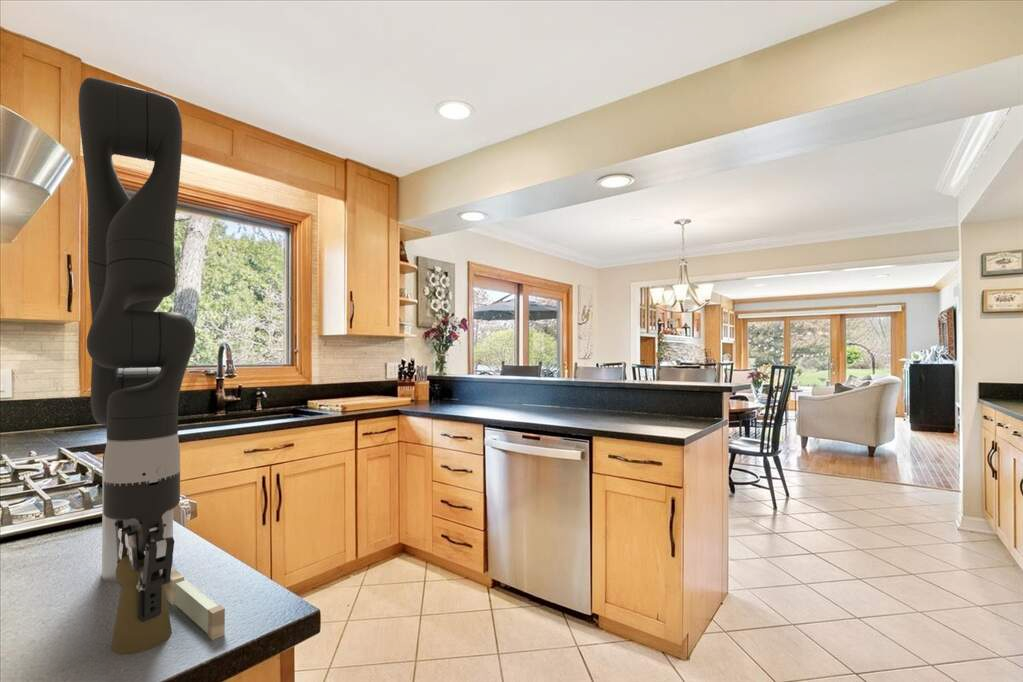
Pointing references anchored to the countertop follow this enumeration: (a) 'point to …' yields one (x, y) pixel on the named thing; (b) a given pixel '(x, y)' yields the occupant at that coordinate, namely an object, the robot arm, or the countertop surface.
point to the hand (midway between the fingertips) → (142, 610)
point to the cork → (127, 626)
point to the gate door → (193, 603)
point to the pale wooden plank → (214, 614)
